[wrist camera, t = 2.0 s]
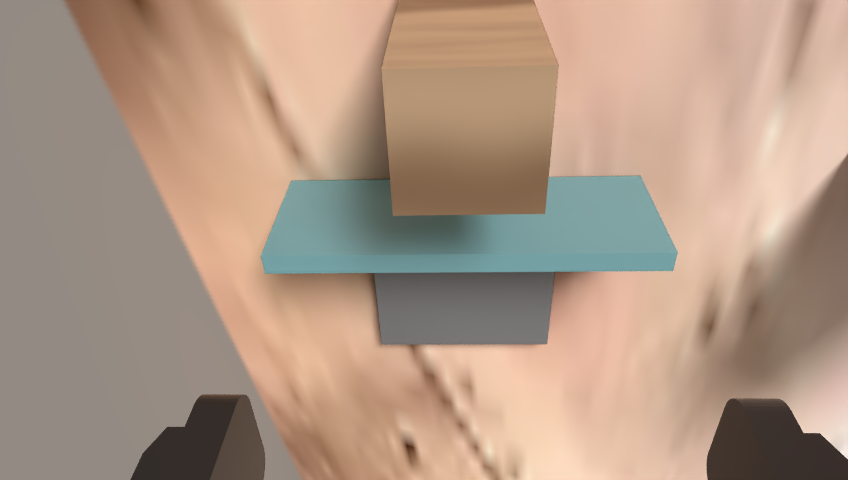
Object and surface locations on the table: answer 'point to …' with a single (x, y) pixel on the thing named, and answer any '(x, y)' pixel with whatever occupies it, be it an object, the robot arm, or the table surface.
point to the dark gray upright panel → (464, 307)
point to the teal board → (468, 232)
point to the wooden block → (468, 107)
